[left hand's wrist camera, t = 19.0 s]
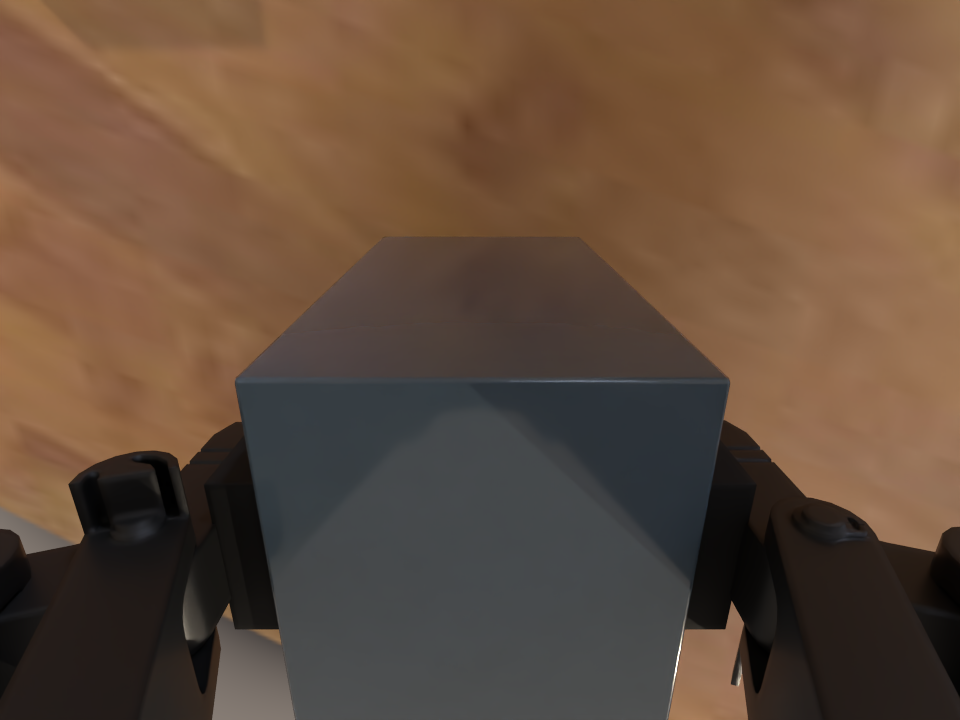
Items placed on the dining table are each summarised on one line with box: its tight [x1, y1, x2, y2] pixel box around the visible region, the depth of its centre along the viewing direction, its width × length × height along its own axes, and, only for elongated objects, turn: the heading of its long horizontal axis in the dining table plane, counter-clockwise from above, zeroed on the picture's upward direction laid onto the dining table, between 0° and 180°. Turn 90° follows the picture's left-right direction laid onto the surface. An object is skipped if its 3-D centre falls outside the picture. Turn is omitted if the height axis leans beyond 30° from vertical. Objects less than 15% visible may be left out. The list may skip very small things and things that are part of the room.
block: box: [235, 237, 730, 720], centre depth 13 cm, size 6×6×11 cm
